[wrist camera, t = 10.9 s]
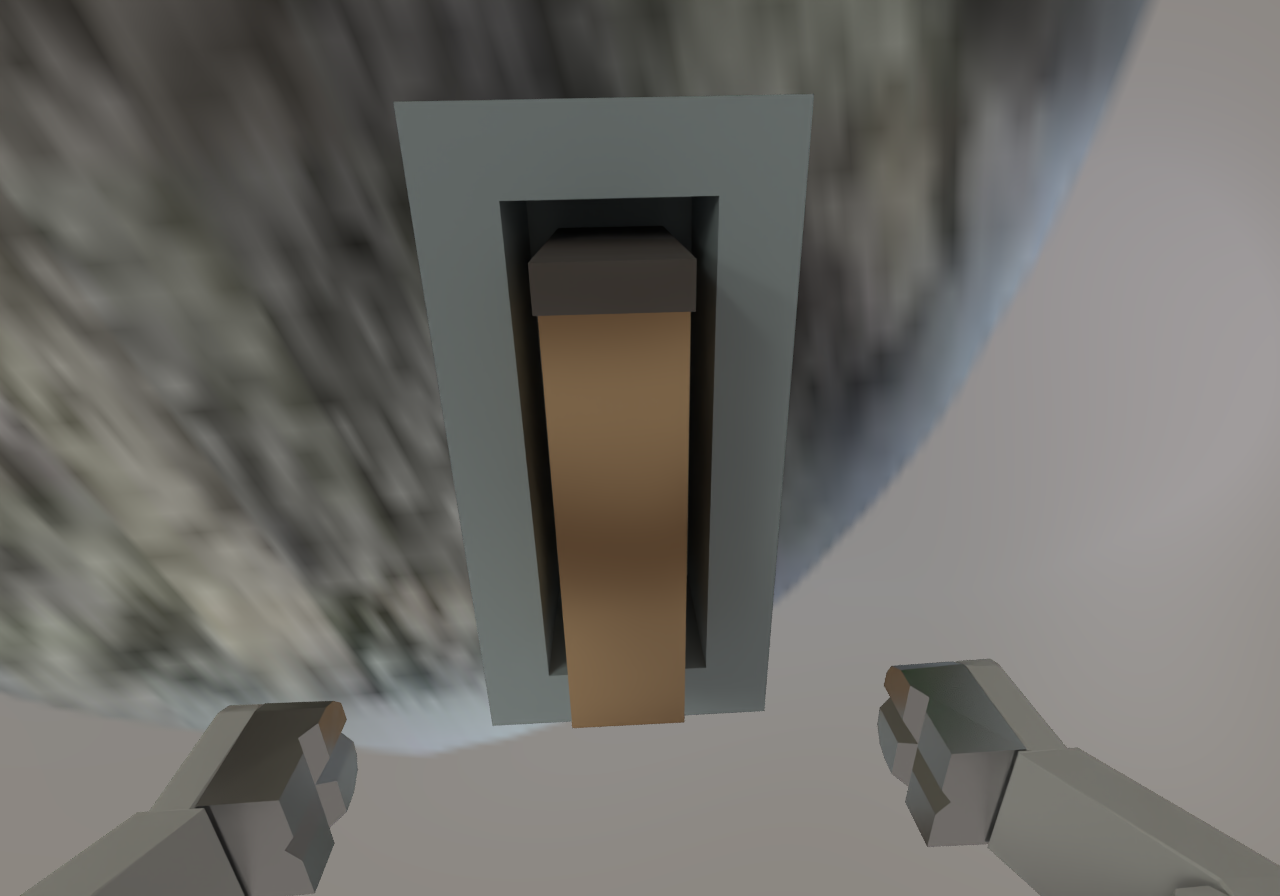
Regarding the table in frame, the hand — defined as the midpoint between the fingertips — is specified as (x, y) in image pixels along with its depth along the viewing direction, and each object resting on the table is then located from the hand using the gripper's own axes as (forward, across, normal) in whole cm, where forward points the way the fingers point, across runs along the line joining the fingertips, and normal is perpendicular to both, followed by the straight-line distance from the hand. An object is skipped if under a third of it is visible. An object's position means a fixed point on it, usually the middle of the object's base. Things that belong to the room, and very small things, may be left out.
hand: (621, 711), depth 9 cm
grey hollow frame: (+20, 0, 0) cm, 20 cm away
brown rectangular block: (+13, 0, 0) cm, 13 cm away
